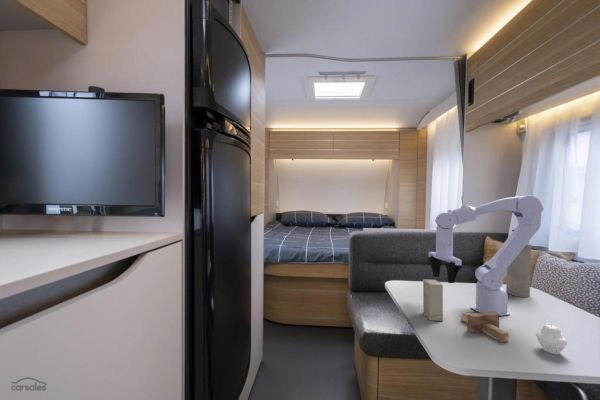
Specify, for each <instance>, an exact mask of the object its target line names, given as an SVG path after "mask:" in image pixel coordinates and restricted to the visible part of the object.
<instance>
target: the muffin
mask: <svg viewBox="0 0 600 400" xmlns="http://www.w3.org/2000/svg"><path fill="white" fill-rule="evenodd" d="M535 333H536V334H535V336H536V339H537V341H538V343H539V345H540V346H541V349H542V350H543V351H545V352H546V353H548V354H552V355H559V354H561V353H562V351H563V350H564V349H565V348H566V346H567V345H568V341H567V339H566V338H565V337H564V336H563V335H562V333H561V330H560V329H559V328H558V327H556V326H555V325H552V324H551V325H550V324H545V325H542V328H541V329H539V330H537V331H536V332H535Z"/></svg>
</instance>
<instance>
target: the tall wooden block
mask: <svg viewBox="0 0 600 400" xmlns="http://www.w3.org/2000/svg"><path fill="white" fill-rule="evenodd" d="M486 323H490V324H492V325H494V326H496V327H498V328H500V316H499V314H498V313H496V312H486V313H480V312H476V313H470V314H468V323H467V331H468V330H469V331H468V332H470V333H471V332H472V334H476V333H475V332H478V333H482V331H481V330H482V324H486Z"/></svg>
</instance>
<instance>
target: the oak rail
mask: <svg viewBox="0 0 600 400" xmlns="http://www.w3.org/2000/svg"><path fill="white" fill-rule="evenodd" d="M468 314H471V313H469V311H468V312H467V311H465V312H462V313H461V321H462V320H463V321H462V322H464V323H466V324H468ZM482 331H483V334H486V335H488V336H490V337H491V338H494V339H495V340H497V341H499V342H501V343H509V337H510V336H509V335H510V334H509V332H507V331H506V330H504V329H501V328H500V327H499V328H498V327H496V326H494V325H492V324H490V323H486V324H482V330H481V332H482Z"/></svg>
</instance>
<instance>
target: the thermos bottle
mask: <svg viewBox="0 0 600 400" xmlns="http://www.w3.org/2000/svg"><path fill="white" fill-rule="evenodd" d="M514 230H515V229H512V230H511V231H512V232H513V231H514ZM531 265H532V243H530V241H529V242H528V243H527V244H526V245H525V247H524V248H523V249H522V250H521V252H520V253H519V254H518V255H517V257H516V258H515V259H514V260H513V262H512V263H511V264H510V265H509V266H508V268H507V272H506V289H505V291H506V293H507V294H509V295H512V296H515V297H521V298H529V297H530V296H531V269H532V268H531V267H532V266H531Z"/></svg>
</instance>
